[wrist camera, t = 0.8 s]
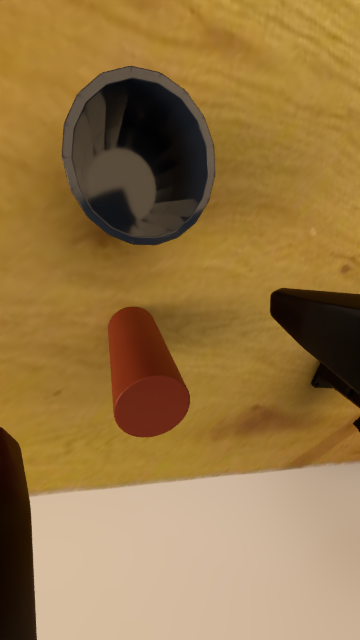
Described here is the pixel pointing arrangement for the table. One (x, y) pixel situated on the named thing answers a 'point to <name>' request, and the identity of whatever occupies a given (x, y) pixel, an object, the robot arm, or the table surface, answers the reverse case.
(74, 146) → the can
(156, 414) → the dowel
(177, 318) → the table surface
